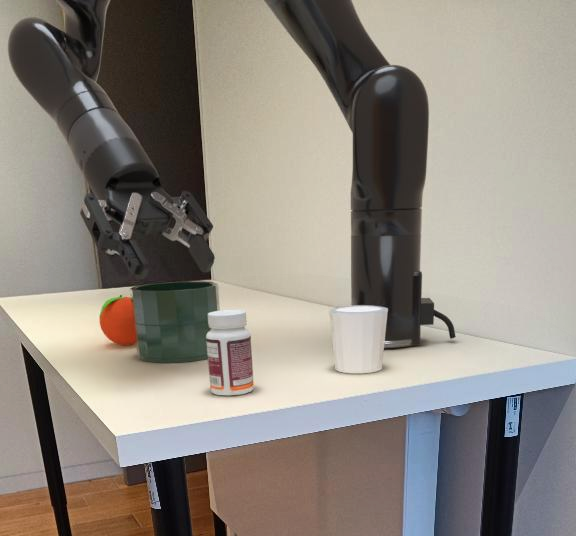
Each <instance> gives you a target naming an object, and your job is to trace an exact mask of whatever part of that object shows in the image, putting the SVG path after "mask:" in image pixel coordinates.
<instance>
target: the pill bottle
mask: <svg viewBox="0 0 576 536" xmlns="http://www.w3.org/2000/svg"><path fill="white" fill-rule="evenodd" d="M247 322H248V320H247V311H246V310H242V309H223V310H222V309H221V310H220V311H214V312H210V313H208V324H209V327H210V328H211V330H210V331H209V332H208V333H207V335H206V343H207V354H208V359H207V360H208V361H207V363H208V365H207V366H208V377H209V379H208V380H209V386H210V387H209V390H210V392H211V393H212V394H214V395H216V396H217V395H218V396H228V397H229V396H241V395H245V394H248V393H250V392H252V391H253V390H254V387H255V386H254V385H255V383H254V370H253V354H252V353H253V351H252V335H251V332H250V330H249V329H248V328H246V326H247Z"/></svg>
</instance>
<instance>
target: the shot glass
mask: <svg viewBox="0 0 576 536" xmlns="http://www.w3.org/2000/svg"><path fill="white" fill-rule="evenodd" d="M328 312H329V313H328V314H329V321H330V322H329V323H330V331H331V332H330V333H331V340H332V341H331V342H332V350H333V360H334V361H333V362H334V370H335V371H337V372H339V373H343V374H354V375H355V374H371V373H375V372H379V371H382V369H383V360H384V349H385V348H384V342H385V332H386V322H387V312H388V308H385V307H380V306H370V305H355V306H351V305H344V306H338V307H333V308H330V309H329V311H328Z"/></svg>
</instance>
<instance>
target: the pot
mask: <svg viewBox="0 0 576 536" xmlns="http://www.w3.org/2000/svg"><path fill="white" fill-rule="evenodd" d="M129 293H130V294H129V295H130V298H131V304H132V312H133V321H134V330H135V339H136V342H135V347H136V353H137V357H138V359H139V360H141V361H144V362H149V363H161V364H162V363H163V364H166V363H167V364H170V363H171V364H172V363H188V362H189V363H190V362H197V361H203V360H208V354H207V343H206V335H207V333H208V332H209V331H210V330H211V328H210V327H209V324H208V313H210V312H214V311H221V307H220V292H219V283H217V282H214V281H202V280H200V281H197V280H196V281H195V280H194V281H193V280H190V281H186V280H185V281H183V280H182V281H167V282H165V281H164V282H154V283H145V284H140V285H134V286H133V287H130V288H129Z"/></svg>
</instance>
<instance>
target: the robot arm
mask: <svg viewBox="0 0 576 536" xmlns="http://www.w3.org/2000/svg"><path fill="white" fill-rule="evenodd" d="M55 1H56V3H57V4H58V5H59V6H60V8H61V10H62V11H63V14H64V23H63V25H64V27H63V28H64V29H63V30H62V29H60V28H59V27H57V26H56V25H55V24H52V23H51V22H50V21H48V20H46V19H45V18H44V19H43V18H41V17H37V16H28V17H24V18H22V19H20V20H19V21H17V22H16V23H15V24H14V25H13V27H12V28H11V30H10V33H9V35H8V39H7V55H8V61H9V63H10V67H11V69H12V71H13V73H14V75H15V76H16V78H17V80H18V82H19V83H20V85H22V87H23V88H24V89H25V90H26V91H27V93H28V94H29V95H30V96H31V97H32V98H33V100H34V101H35V102H36V103H37V104H38V105H39V107H41V109H42V110H43V111H44V112H45V113H46V114H47V115H48V116H49V117H50V118H51V119H52V120H53V121H54V123H55V124H56V126H57V129H58V130H59V132H60V133H61V135H62V138H63V140H64V141H65V142H66V144H67V146H68V147H69V149H70V151H71V154H72V157H73V159H74V161H75V163H76V165H77V168H78V169H79V170H80V172H81V174H82V176H83V177H84V179H85V181H86V183H87V185H88V186H89V187H90V189H91V191H92V193H91V192H87V193H86V194H85V195H84V199H83V202H82V205H81V209H80V216H81V218H82V220H83V222H84V225H85V226H86V229H87V230H88V232H89V235H90V236H91V238H92V241H93V242H94V245H95V247H96V249H97V250H99V251H100V252H103V253H106V252H107V251H109V250H110V251H114V253H115V254H116V255H119V256H120V258H121V259H122V262H123V263H124V265H125V266H126V268H127V270H128V271H129V273H131V275H133V276H134V277H135V278H136V279H137V280H145V279H146V277H147V275H148V272H149V270H150V264H149V261H148V260H147V258H146V257H145V255H144V253H143V252H142V250H141V248H140V246H139V244H138V243H137V241H136V240H135V239H131V238H132V235H133V234H137V237H145V236H147V235H153V236H154V235H155V236H161V235H162V236H164V237H165V238H166V239H168V240H169V241H172V242H175V241H178V242H179V243H181V244H182V245H184V246H185V247H187V248H188V252H189V254H190V255H191V257H192V259H193V260H194V261H195V263H196V266H197V267H198V269H199V270H200V271H201V273H209V272H210V271H211V269H212V267H213V265H214V263H215V258H216V257H215V254H214V252H213V251H212V249H211V247H210V246H209V244H208V242H207V241H208V238H209V236H210V234H211V232H212V230H213V228H214V224H213V223H212V221H211V220H210V219H209V217H208V216H207V215H206V214H207V213H205V211H204V210H203V208H202V207H201V206H200V204H199V203H198V201H197V199H195V197H194V195H193V194H192V192H190V191H188V190H182V192H181V195H180V196H173V197H172V196H171V195H170V194H169V193H167V192H166V191H165V190H164V189H163V186H162V183H161V180H160V175H159V173H158V170H157V169H156V167H155V166H154V164H153V162H152V161H151V159H150V157H149V156H148V154H147V152H146V151H145V149H144V148H143V146H142V145H141V143H140V141H139V140H138V138H137V136H136V135H135V133H134V131H133V130H132V128H131V127H130V126H129V125H128V124H127V122H125V120H124V119H123V116H121V114H120V112H119V111H118V109H117V108H116V106H115V105H114V103H113V101H112V100H111V98H110V96H109V95H108V94H107V92H106V91H105V90H104V89H103V87H102V86H101V85H100V84H99V83H97V80H98V77H99V73H100V69H101V61H102V54H103V46H104V45H103V43H104V36H105V26H106V17H107V10H108V7H109V5H110V3H111V0H55ZM263 1H264V3H265V4H266V5H267V7H268V8H269V9H270V11H271V12H272V13H273V15H274V16H275V18H276V19H277V20H278V21H279V23H280V24H281V25H282V26H283V28H284V29H285V30H286V33H288V35H289V36H290V37H291V39H292V40H293V41H294V43H296V44H297V46H298V47H299V48H300V49H301V51H303V53H304V54H305V56H306V57H307V58H308V59H309V60H310V61H311V63H312V64H313V65H314V67H315V68H316V70H317V71H318V73H319V74H320V76H321V78H322V79H323V81H324V82H325V85H326V86H327V88H328V90H329V92H330V93H331V95H332V97H333V98H334V99H333V100H334V101H335V102H336V104H337V106H338V108H339V110H340V112H341V113H342V116H343V118H344V120H345V121H346V124H347V126H348V127H349V129H350V132H351V133H352V172H351V173H352V175H351V186H350V296H351V297H350V306H355V305H370V306H380V307H385V308H388V312H387V322H386V332H385V342H384V349H398V348H405V347H412V346H420V345H421V327H422V326H433V325H434V324H435V323H434V321H435V319H434V318H437V319H439V320H440V321H442V322H443V323H444V324H445V325H446V327H447V330H448V335H449V339H450V340H451V339H455V338H456V337H457V335H456V332H455V327H454V324H453V322H452V321H451V319H450V318H449V316H447V315H446V314H443V312H440V311H438V310H436V309H435V302H434V301H433V300H432V299H431V298H430V297H422V294H423V293H422V291H423V290H422V289H423V272H422V271H421V255H422V222H423V219H422V218H423V209H422V208H423V198H424V197H423V196H424V189H425V186H426V179H427V167H428V147H429V126H430V125H429V124H430V104H429V97H428V96H429V95H428V91H427V89H426V87H425V85H424V82H423V81H422V79H421V78H420V77H419V76H418V75H417V73H415V72H414V71H413V70H412V69H410V68H408V67H406V66H403V65H399V64H391V63H390V62H389V61H388V60H387V59H386V57H385V56H384V55H383V53H382V52H381V50H380V49H379V48H378V46H377V45H376V43H375V42H374V41H373V39H372V38H371V36H370V35H369V33H368V32H367V30H366V28H365V27H364V24H363V22H362V21H361V19H360V16H359V15H358V12H357V10H356V8H355V5H354V3H353V0H263ZM107 217H108V218H109V219H111V220H112V221H114V222H116V224H118V225H120V227H119V230H118V232H116V231H114V230H113V228H112V226H111V224H110V222H109V220H108V218H107ZM172 218H173V219H174V220H175V223H174V225H173V227H170V226H169V224H170V222H171V219H172ZM183 229H184V230H186V231H187V232H189V235H188V234H186V233H185V232H183Z"/></svg>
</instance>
